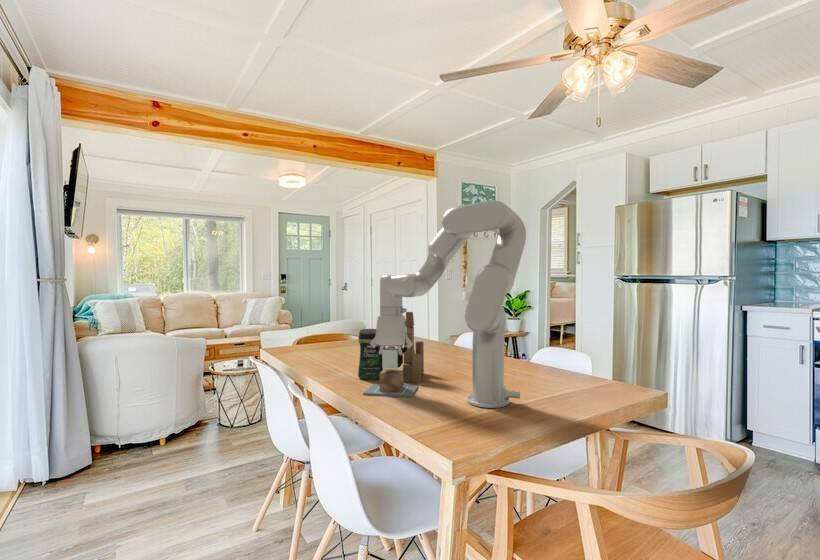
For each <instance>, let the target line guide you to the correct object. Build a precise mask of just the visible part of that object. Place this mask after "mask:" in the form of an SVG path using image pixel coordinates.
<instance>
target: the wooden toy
mask: <svg viewBox="0 0 820 560" xmlns="http://www.w3.org/2000/svg"><path fill="white" fill-rule="evenodd" d="M405 319H406V326H407V337H408V338H409V339H410V341H411V342H412V343H413V345H412V346H411V347H410V348H409V349H407V350H406V351H405V352H404V353H403V364H402V370H403V383H421V382H422V375H424V373H425V372H424V371H425V369H424V366H425V364H424V363H425V362H424V361H425V360H424V357H425V356H424V355H425V353H424V351H425V350H424V349H425V348H424V347H425V345H424V344H425V343H424V341H423V340H417V341H415V328H414V326H415V320H414V319H415V317H414V312H413V311H407V312H405ZM405 346H407V343H406V344H404V345H403V348H404V347H405Z"/></svg>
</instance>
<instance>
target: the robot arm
mask: <svg viewBox="0 0 820 560" xmlns="http://www.w3.org/2000/svg"><path fill="white" fill-rule="evenodd" d="M441 227H442V228H441V229H440V230H439V232H438V233H437V234H436V235H435V236H434V238H433V239H432V240H431V241H430V242H429V244H428V250H427V251H428V253H427V254H428V255H427V258H426V260H425V262H424V263H423V264H422V266H421V267H420V268H419V269H418V271H416V273H408V274H383V275H381V276H380V279H379V315H378V316H377V320H376V328H375V329H376V336H375V337H374V339H373V340H372V341H371V343H370V345H371V346H372V347H374V348H375V349H376V350H377V351H378V353H379V354H380V363H381V366H382V350H383V349H385V348H387V347H389V346H394V347H396V348H397V349H398V352H399V353H398V368H400V367H402V365H403V364H404V352H405V351H406V350H407V349H409V348H410V347H411V346H412V345H413V343H412V342H411V341H410V339H409V338H408V337H407V326H406V315H404V314H405V313H406V312H408V311H407V308H404V306H403V298H415V297H421V296H424V295H426V294H427V293H428V292H429V291H430V290H431V289H432V288H433V287H434V286H435V284H436V283H437V282H439V280H440V279H441V277H442V275H443V274H444V273H445V270H446V269H447V267H448V266H449V263H450V261H451V260H452V259H453V257H455V255H456V254H457V253H458V252H459V250H460V249H461V248H462V247H463V245H465V244H466V243H467V241H468V240H469V239H470V238H471V236H472V235H473V234H474V233H481V232H489V231H492V232H493V233H496V234H497V238H496V242H495V244H494V247H493V250H492V253H491V257H490V260H489V262H488V264H486V265H484V266H483V267H481V268H480V269H479V270H478V272H477V274H476V276H475V278H474V282H473V285H472V287H471V290H470V294H469V297H468V301H467V304H466V306H465V307H466V308H465V310H464V319H465V320H464V321H465V323H466V325H467V327H468V328H469V329H470V330H471V331H472V349H471V350H472V351H471V352H472V357H471V358H472V394H469V395H468V396H467V402H468V403H469V404H470V405H472V406H475V407H480V408H487V409H494V408H495V409H497V408H505V407H507V406H508V405H509V404H510V400H511V399H521V392H520V391H516V390H508V389H506V385H505V335H506V334H505V333H506V331H505V330H506V320H507V319H506V318H507V317H506V311H505V308H504V306H503V303H504V300H505V298H506V294H508V293H509V292H510V291H511V290H512V289H513V286H514V284H515V279H516V276H517V273H518V270H519V266H520V263H521V259H522V255H523V252H524V248H525V245H526V240H527V231H526V225H525V223H524V221H523V220H522V218H521V217H520V216H519V215H518V213H516V212H515V211H514V210H513V209H512V208H511V207H510V206H508V205H507V204H506V203H504V202H502V201H500V200H496V199H495V200H493V199H491V200H486V201H480V202H479V201H478V202H474V203H469V204H462V205H457V206H453V207H451V208H449V209H447V210H446V211H445V212H444V214H443V216H442V219H441ZM406 343H407V346H405V347H404V344H406ZM378 345H380V346H378ZM510 398H511V399H510Z"/></svg>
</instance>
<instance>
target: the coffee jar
mask: <svg viewBox="0 0 820 560" xmlns="http://www.w3.org/2000/svg"><path fill="white" fill-rule="evenodd" d="M358 333H359V334H358V343H359V348H360V349H359V361H358V363H359V364H358V374H357V377H358V378H359V379H363V380H378V379H379V380H380V372H382V371H383V370H384V368H382V366H381V363H380V354H379V353H378V351H377V350H376V349H375V348H374V347H372V346H371V345H370V343H371V341H372V340H373V339H374V337H375V336H376V328H362V329H360V330H359V332H358ZM378 346H380V345H378Z"/></svg>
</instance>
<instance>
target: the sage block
mask: <svg viewBox="0 0 820 560" xmlns="http://www.w3.org/2000/svg"><path fill="white" fill-rule="evenodd" d="M398 353H399V352H398V349H397V347H396V346H387V347H385V349H383V350H382V368H383V369H399V367H398Z"/></svg>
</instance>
